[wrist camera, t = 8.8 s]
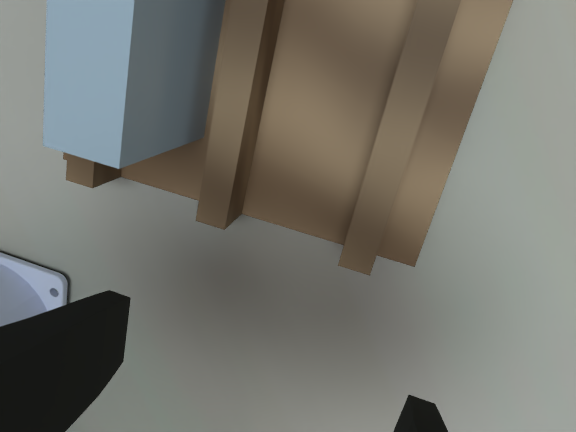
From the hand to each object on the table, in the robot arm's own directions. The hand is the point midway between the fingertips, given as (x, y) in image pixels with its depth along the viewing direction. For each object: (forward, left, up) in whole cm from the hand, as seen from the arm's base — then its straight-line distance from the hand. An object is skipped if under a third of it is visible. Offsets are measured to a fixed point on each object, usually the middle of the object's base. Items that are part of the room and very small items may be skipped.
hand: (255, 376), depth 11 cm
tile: (+8, +7, -8) cm, 13 cm away
